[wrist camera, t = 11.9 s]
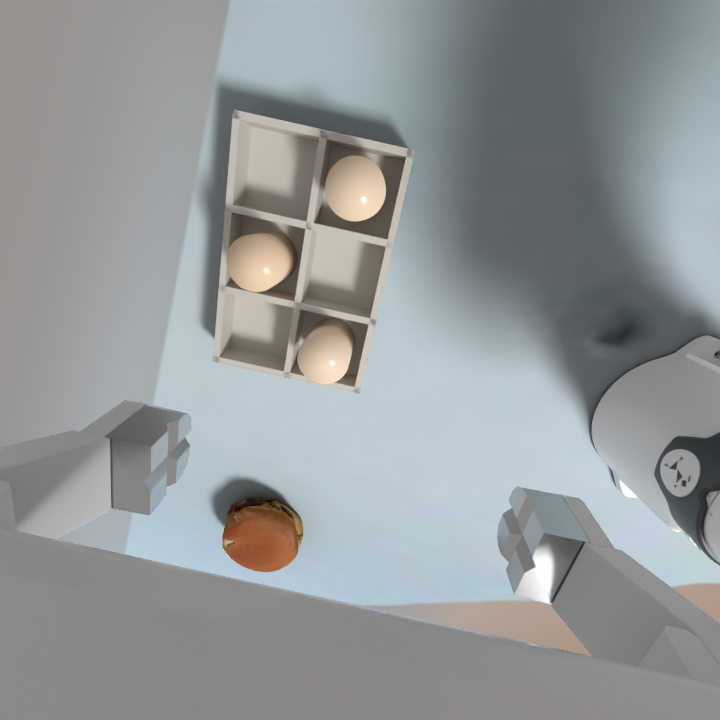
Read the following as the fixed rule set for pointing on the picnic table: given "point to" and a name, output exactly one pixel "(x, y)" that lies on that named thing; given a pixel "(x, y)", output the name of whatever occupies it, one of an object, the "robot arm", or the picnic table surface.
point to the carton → (303, 244)
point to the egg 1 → (261, 260)
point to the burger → (262, 534)
